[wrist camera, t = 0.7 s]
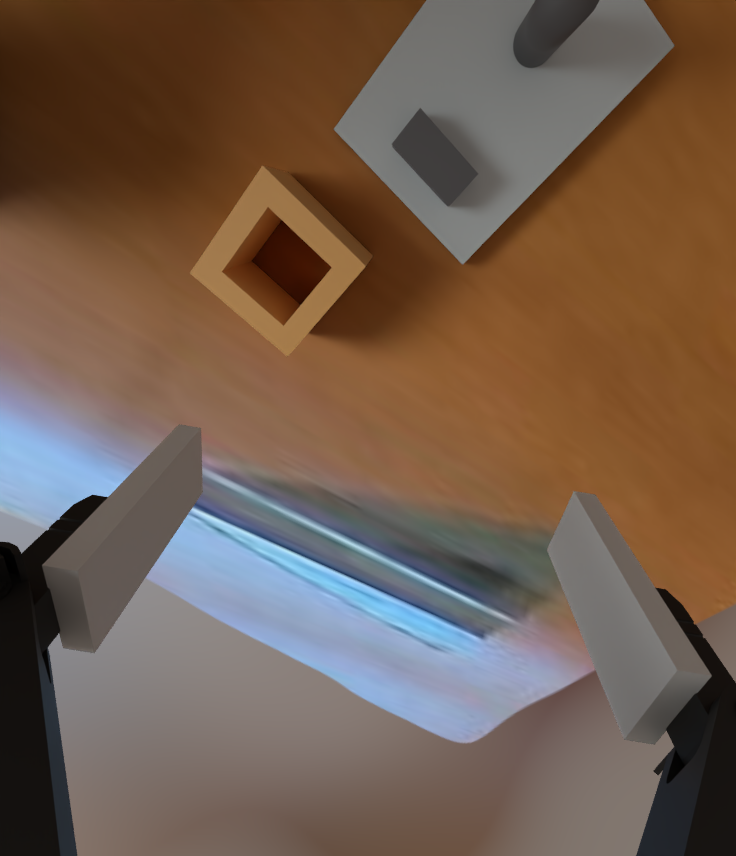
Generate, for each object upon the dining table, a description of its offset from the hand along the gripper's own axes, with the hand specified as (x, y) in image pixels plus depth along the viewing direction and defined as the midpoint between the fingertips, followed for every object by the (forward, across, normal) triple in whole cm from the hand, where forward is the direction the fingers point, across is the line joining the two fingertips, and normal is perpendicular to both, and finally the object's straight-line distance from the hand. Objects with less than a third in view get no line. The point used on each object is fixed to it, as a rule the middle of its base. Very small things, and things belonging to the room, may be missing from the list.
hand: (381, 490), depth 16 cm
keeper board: (+22, +3, +16) cm, 27 cm away
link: (+22, -8, +4) cm, 24 cm away
